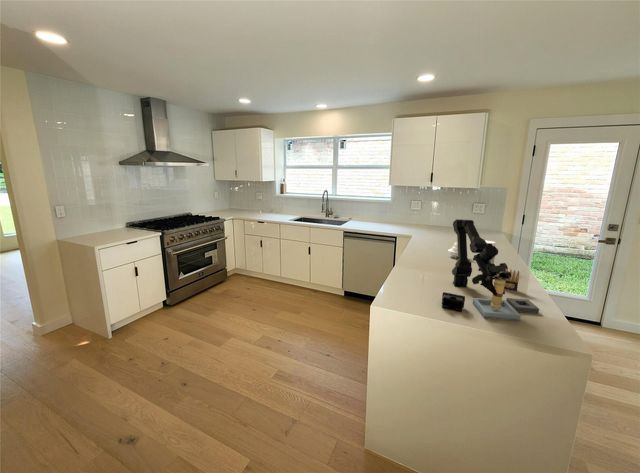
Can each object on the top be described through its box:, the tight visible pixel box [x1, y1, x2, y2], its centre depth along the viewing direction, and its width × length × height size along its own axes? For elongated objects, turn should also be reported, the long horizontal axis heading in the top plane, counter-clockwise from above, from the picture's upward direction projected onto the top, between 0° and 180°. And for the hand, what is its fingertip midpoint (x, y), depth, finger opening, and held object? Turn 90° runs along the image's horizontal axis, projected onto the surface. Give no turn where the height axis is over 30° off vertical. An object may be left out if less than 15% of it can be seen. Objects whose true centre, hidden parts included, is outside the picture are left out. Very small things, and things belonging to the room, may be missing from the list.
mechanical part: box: [448, 241, 458, 258], centre depth 220 cm, size 11×12×12 cm
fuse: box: [490, 278, 505, 309], centre depth 135 cm, size 4×4×14 cm
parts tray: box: [472, 297, 522, 322], centre depth 137 cm, size 15×15×3 cm
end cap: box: [441, 291, 466, 313], centre depth 140 cm, size 10×7×7 cm
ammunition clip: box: [497, 268, 520, 292], centre depth 162 cm, size 11×2×12 cm, turn 57°
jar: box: [484, 239, 497, 264], centre depth 199 cm, size 10×10×18 cm
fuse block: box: [506, 297, 540, 314], centre depth 141 cm, size 10×10×2 cm
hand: (500, 294), depth 133 cm, fingers closed on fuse, 4 cm apart
